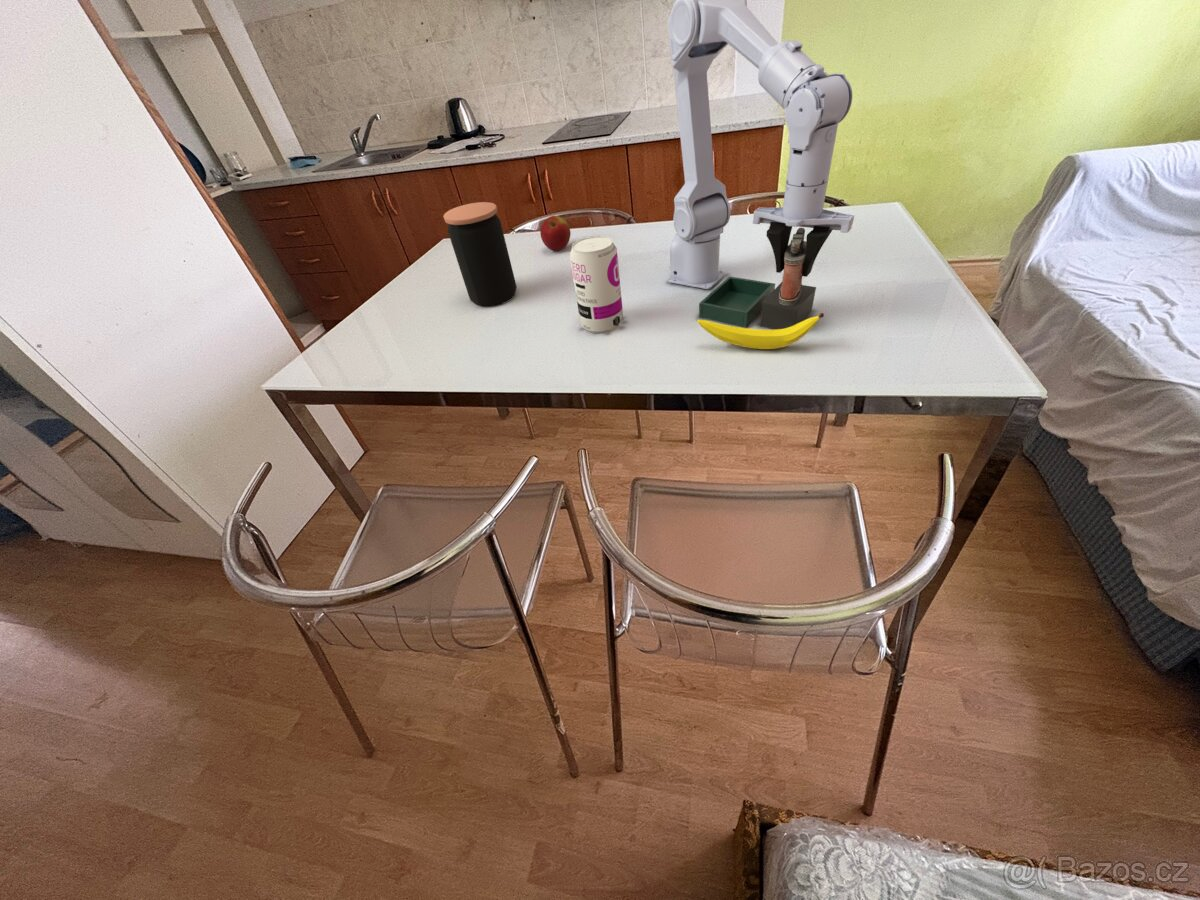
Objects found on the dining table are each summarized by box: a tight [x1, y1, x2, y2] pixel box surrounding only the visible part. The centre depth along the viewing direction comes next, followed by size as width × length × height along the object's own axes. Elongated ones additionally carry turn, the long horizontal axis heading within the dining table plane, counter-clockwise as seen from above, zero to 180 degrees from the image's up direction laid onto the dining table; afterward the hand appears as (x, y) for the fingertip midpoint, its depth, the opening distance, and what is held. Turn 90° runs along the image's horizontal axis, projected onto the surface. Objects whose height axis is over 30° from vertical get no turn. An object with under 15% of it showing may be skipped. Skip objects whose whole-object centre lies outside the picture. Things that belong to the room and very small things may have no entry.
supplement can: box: [569, 235, 624, 334], centre depth 87 cm, size 8×8×15 cm
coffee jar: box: [442, 201, 518, 308], centre depth 101 cm, size 11×11×18 cm
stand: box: [759, 281, 817, 330], centre depth 84 cm, size 6×8×4 cm
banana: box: [696, 312, 825, 350], centre depth 77 cm, size 3×19×6 cm, turn 75°
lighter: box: [779, 227, 806, 305], centre depth 79 cm, size 8×3×10 cm, turn 155°
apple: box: [539, 215, 571, 252], centre depth 121 cm, size 8×8×8 cm
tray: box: [698, 275, 776, 328], centre depth 89 cm, size 9×12×3 cm
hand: (793, 272), depth 80 cm, fingers closed on lighter, 4 cm apart
